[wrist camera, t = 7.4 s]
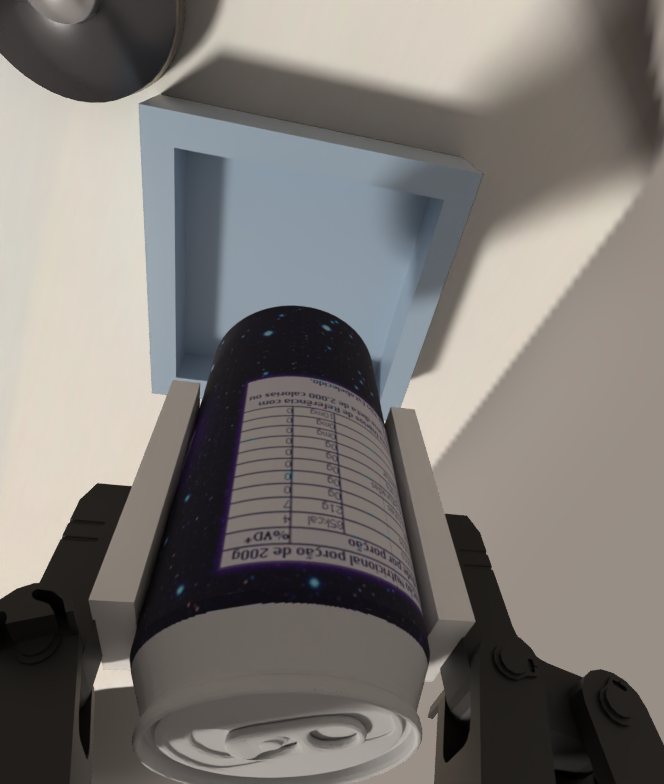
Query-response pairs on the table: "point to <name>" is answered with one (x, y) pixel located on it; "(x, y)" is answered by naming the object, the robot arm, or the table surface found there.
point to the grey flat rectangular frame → (91, 44)
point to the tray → (291, 234)
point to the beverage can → (283, 574)
